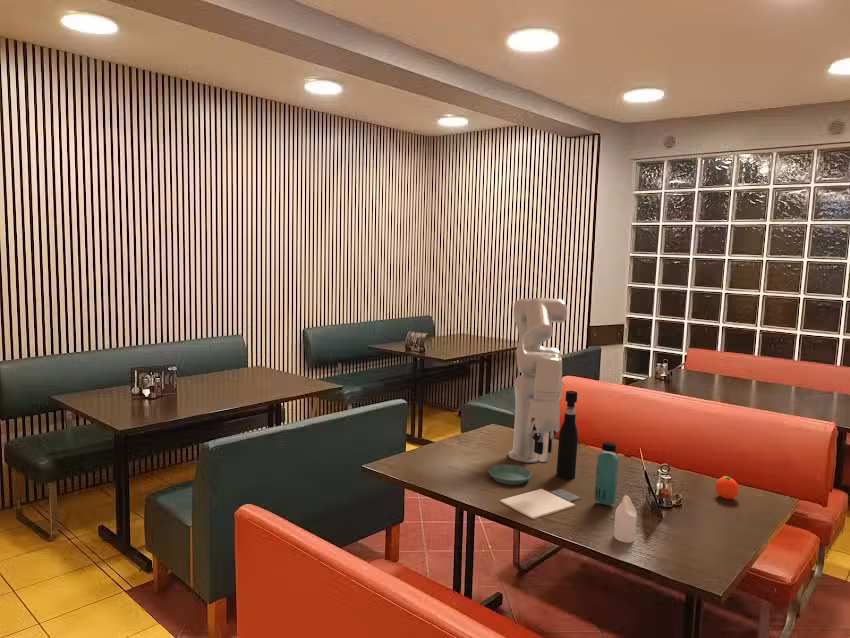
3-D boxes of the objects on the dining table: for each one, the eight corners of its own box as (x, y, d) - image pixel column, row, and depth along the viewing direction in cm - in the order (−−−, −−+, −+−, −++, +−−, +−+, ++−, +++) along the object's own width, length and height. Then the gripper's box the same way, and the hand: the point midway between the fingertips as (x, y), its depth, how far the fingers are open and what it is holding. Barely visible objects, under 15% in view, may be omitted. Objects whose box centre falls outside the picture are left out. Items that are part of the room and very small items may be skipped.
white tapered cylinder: (634, 502, 161) (613, 496, 165) (631, 545, 163) (610, 538, 166) (641, 495, 166) (620, 489, 169) (637, 536, 168) (617, 530, 171)
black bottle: (554, 477, 210) (560, 392, 206) (557, 471, 215) (563, 388, 212) (573, 480, 207) (579, 395, 204) (576, 474, 213) (582, 391, 210)
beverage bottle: (615, 503, 190) (620, 441, 188) (614, 511, 184) (620, 447, 182) (594, 499, 192) (599, 438, 190) (592, 507, 186) (597, 444, 184)
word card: (561, 490, 198) (561, 488, 198) (580, 498, 192) (580, 497, 192) (550, 493, 196) (550, 491, 196) (569, 502, 189) (569, 500, 189)
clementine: (709, 491, 203) (711, 471, 202) (730, 493, 202) (732, 472, 202) (719, 501, 195) (721, 480, 194) (741, 503, 194) (743, 481, 194)
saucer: (505, 468, 217) (506, 461, 217) (540, 480, 207) (540, 473, 207) (479, 477, 207) (479, 470, 207) (513, 491, 197) (514, 483, 196)
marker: (541, 459, 195) (544, 421, 193) (549, 462, 192) (551, 424, 191) (534, 461, 193) (537, 422, 192) (542, 464, 190) (544, 425, 189)
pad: (541, 490, 197) (541, 488, 197) (574, 506, 186) (574, 504, 186) (500, 501, 187) (500, 499, 187) (532, 519, 176) (532, 517, 176)
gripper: (555, 390, 198) (551, 445, 200) (518, 395, 189) (515, 452, 190) (573, 395, 192) (569, 452, 194) (536, 400, 183) (532, 460, 184)
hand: (542, 451), depth 192 cm, fingers closed on marker, 3 cm apart
